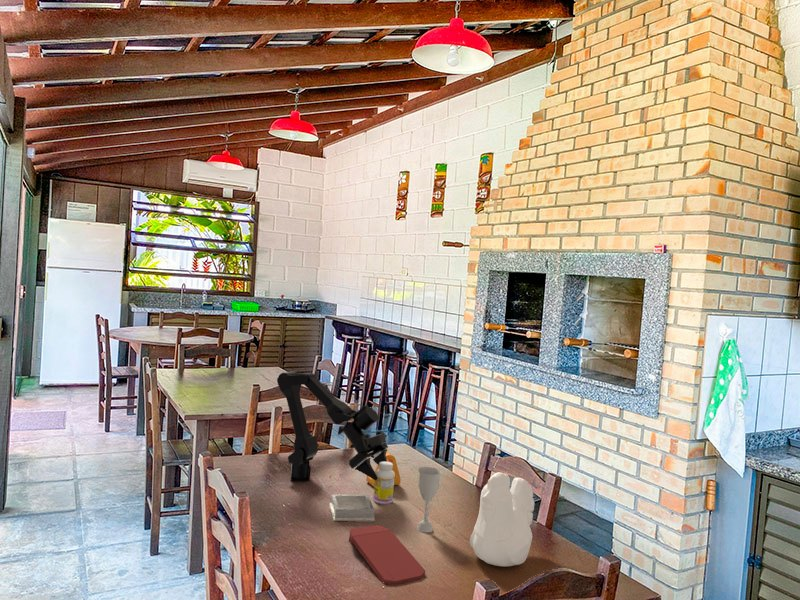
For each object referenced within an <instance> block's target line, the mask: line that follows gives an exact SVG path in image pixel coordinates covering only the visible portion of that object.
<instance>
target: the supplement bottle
mask: <svg viewBox="0 0 800 600" xmlns="http://www.w3.org/2000/svg"><path fill="white" fill-rule="evenodd" d="M392 468H393V464H392V463H391V462H380V463H379V469H378V470H377V471H376V475H377V478H378V479H377V480H375V483H374V487H373V496H372V499H373V501H374V502H375V503H377V504H379V505H387V504H388V505H389V504H391V503H392V502H393V500H394V499H393V498H394V488H395V487H394V486H395V485H394V478H395V473H394V472H393V471H392Z"/></svg>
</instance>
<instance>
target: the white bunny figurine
mask: <svg viewBox="0 0 800 600" xmlns="http://www.w3.org/2000/svg"><path fill="white" fill-rule="evenodd" d="M533 497H534V493H533V488H532V487H531V486H530V485H529V482H528V481H527V480H526V479H524V478H522V477H514V478H513V479H512V482H511V478H510V476H509V475H508V474H507V473H503V472H501V471H499V472H495V473H494V474H492V476H490V478H489V479H488V480H487V482H486V484H485V485H484V486H483V487H482V490H481V492H480V499H479V500H480V501H479V511H478V516H477V520H476V521H475V525H474V528H473V532H472V533H471V536H470V537H469V545H470V547H471V548H472V549H473V551H474V553H475V555H476V557H477V558H478V559H480V560H482V561H483V562H485V563H486V564H488V565H493V566H497V567H512V566H517V565H518V566H519V565H521V564H523V563H525V561H526V559H528V555H529V553H530V549H531V544H532V541H533V533H532V532H533V531H532V529H531V527H530V526H531V525H532V522H533V516H534V513H533V512H534V510H535V500H534V498H533Z"/></svg>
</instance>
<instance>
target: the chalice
mask: <svg viewBox="0 0 800 600" xmlns="http://www.w3.org/2000/svg"><path fill="white" fill-rule="evenodd" d="M418 472H419V473H418V474H419V477H418V489H419V492H420V495H421V498H422V500H423V501H425V504H424V506H423V508H424V512H423V514H424V515H423V516H424V517H423V518H422V519H421V520H420V521H419V523H417V526H416V529H417V531H419V532H421V533H432V532H434V528H433V526H432V525H433V524H432V522H431V521H430V520H429V519H428V517H429V515H430V513H429V509H430V502H431V501H433V499H434V498H435V496H436V495H437V493H438V491H439V489H440V479H441V475H442V474H443V471H442V470H441V469H439V468H436V467H430V466H422V467H419V468H418Z"/></svg>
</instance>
